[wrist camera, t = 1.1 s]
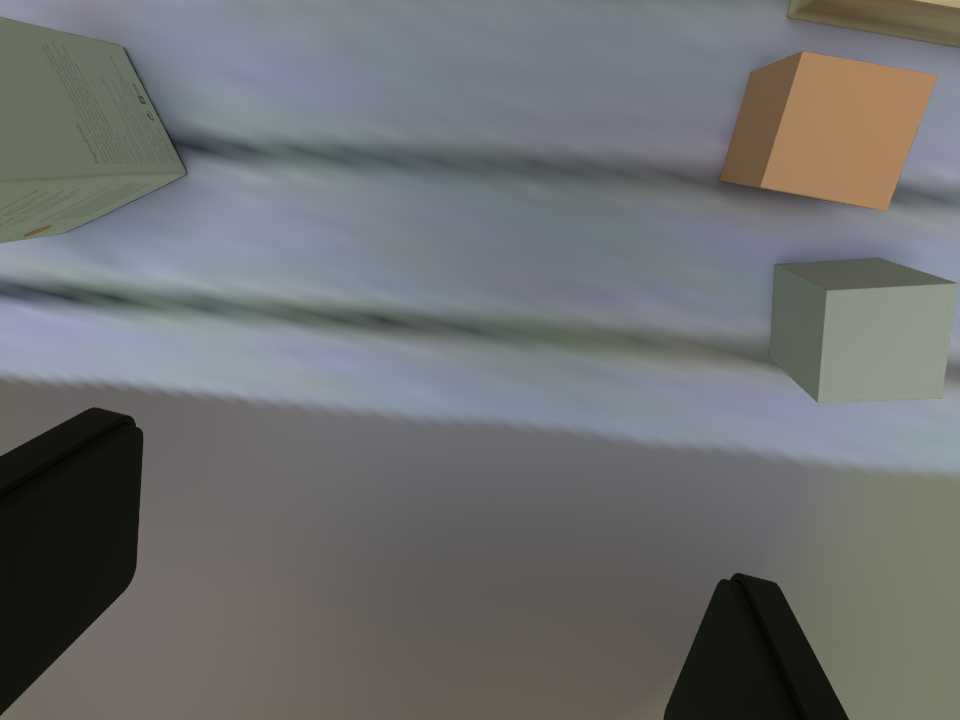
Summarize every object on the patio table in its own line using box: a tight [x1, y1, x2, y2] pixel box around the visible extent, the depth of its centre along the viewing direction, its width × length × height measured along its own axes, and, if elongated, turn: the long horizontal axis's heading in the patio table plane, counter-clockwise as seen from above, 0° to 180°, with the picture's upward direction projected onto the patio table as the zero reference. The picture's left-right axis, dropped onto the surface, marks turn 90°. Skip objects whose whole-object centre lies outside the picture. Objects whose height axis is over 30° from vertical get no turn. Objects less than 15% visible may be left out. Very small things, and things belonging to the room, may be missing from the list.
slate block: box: [769, 258, 958, 403], centre depth 27 cm, size 4×4×6 cm
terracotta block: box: [720, 51, 938, 211], centre depth 25 cm, size 4×4×6 cm
